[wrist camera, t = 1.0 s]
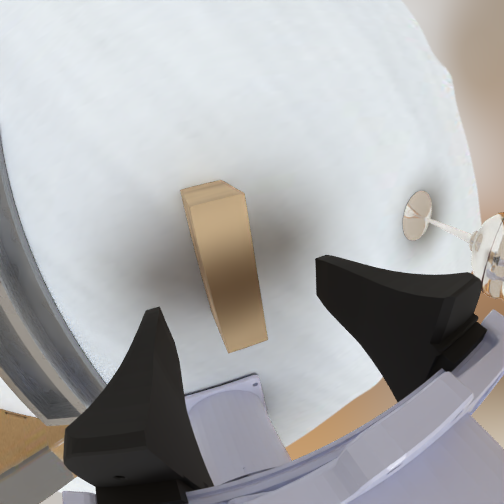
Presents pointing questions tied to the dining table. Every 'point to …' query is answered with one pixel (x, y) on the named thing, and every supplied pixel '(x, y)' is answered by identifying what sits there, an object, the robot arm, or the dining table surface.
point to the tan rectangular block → (226, 261)
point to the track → (37, 331)
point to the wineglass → (480, 242)
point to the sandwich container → (30, 459)
